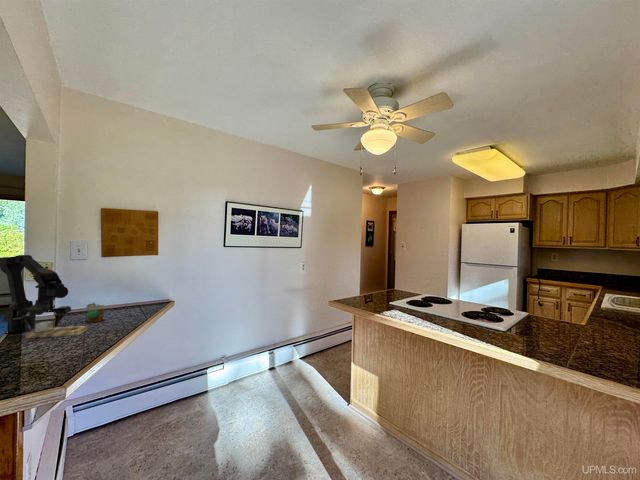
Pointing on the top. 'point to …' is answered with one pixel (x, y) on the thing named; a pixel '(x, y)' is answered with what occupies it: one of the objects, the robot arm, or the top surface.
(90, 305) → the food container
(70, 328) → the rail
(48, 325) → the nut block
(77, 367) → the top surface
